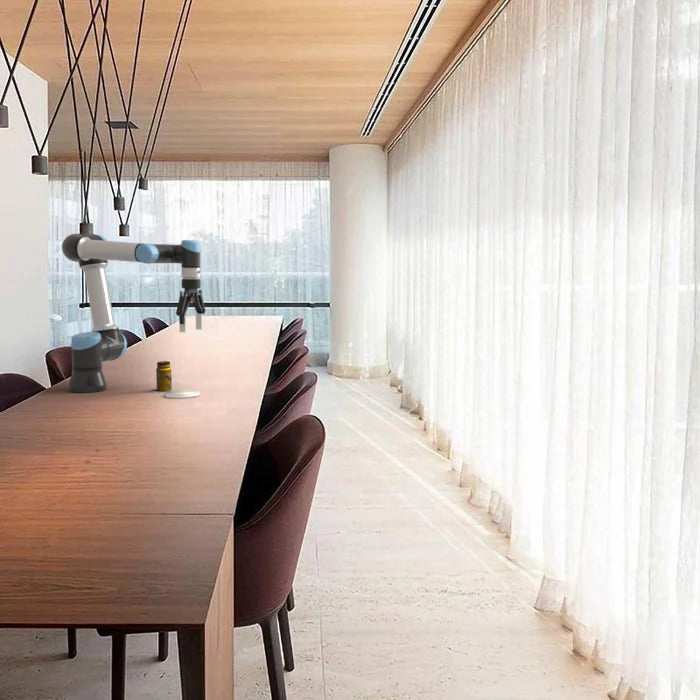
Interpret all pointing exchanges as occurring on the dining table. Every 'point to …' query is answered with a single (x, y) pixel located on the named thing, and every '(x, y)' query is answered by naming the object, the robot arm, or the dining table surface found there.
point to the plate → (182, 394)
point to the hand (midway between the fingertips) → (191, 330)
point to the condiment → (163, 377)
